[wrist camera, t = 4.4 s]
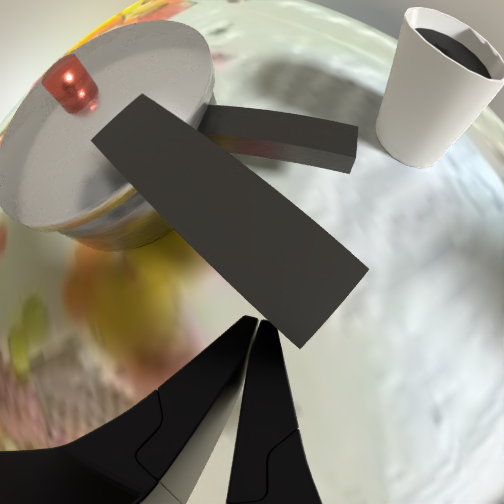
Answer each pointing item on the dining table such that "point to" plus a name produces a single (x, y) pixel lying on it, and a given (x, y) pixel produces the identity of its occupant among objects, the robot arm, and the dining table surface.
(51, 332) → the dining table surface
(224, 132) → the pot
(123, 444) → the robot arm
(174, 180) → the lid
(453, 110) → the white cup
